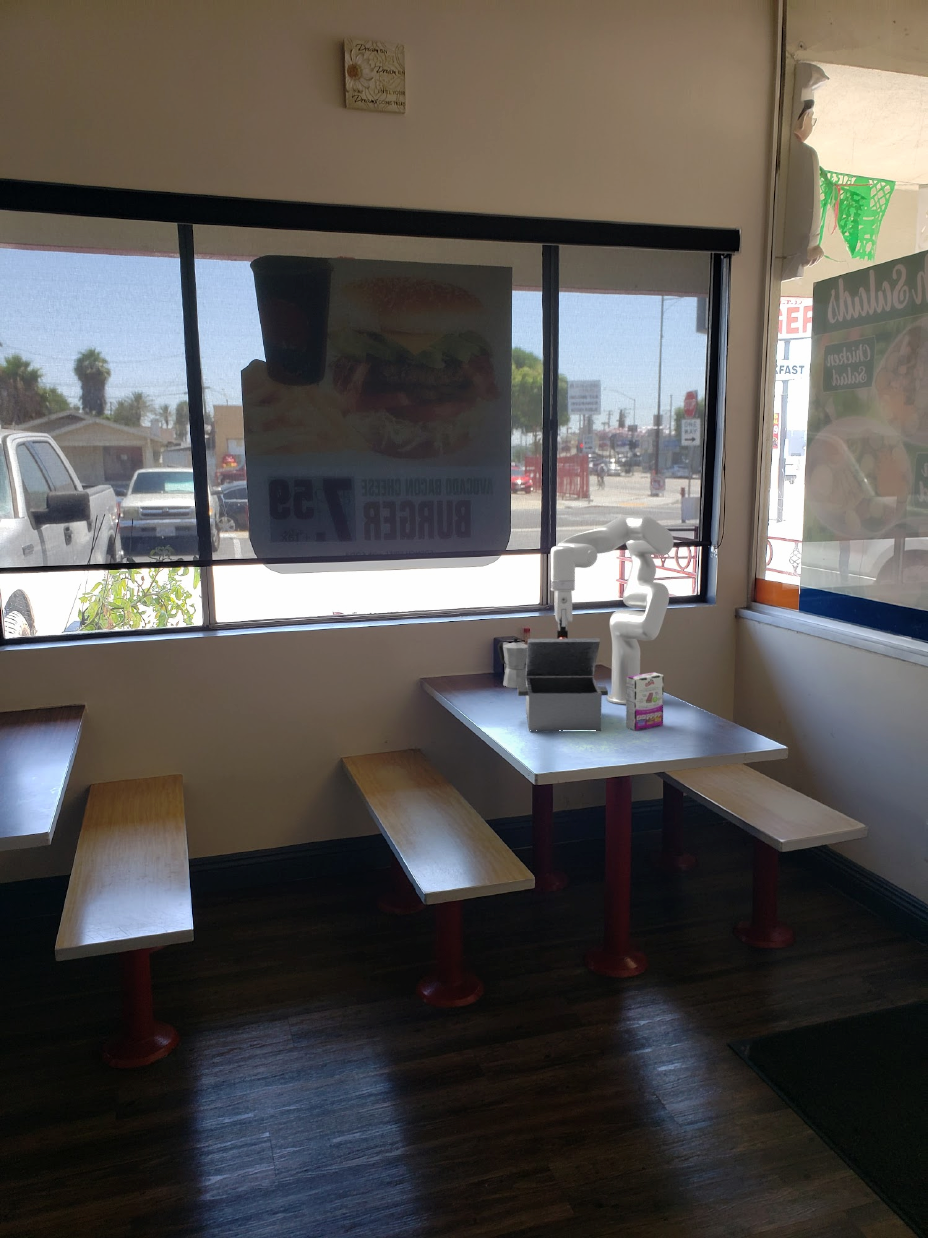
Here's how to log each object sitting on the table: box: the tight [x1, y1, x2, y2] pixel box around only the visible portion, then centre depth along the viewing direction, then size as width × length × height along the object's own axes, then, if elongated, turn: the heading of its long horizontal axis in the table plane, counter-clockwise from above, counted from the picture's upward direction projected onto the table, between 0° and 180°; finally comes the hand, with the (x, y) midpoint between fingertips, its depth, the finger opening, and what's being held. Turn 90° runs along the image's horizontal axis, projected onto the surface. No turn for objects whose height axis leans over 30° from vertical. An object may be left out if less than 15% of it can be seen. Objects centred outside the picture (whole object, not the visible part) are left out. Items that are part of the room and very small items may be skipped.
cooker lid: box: [525, 637, 601, 677], centre depth 287 cm, size 22×22×3 cm
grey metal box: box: [517, 676, 609, 732], centre depth 285 cm, size 28×22×12 cm
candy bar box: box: [625, 672, 665, 732], centre depth 278 cm, size 11×5×16 cm, turn 117°
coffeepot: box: [497, 637, 528, 689], centre depth 333 cm, size 15×9×18 cm, turn 44°
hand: (562, 642), depth 284 cm, fingers closed
